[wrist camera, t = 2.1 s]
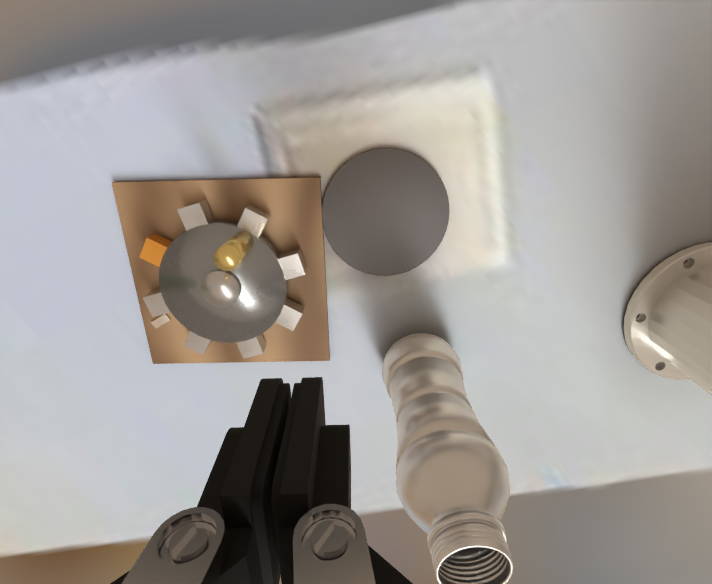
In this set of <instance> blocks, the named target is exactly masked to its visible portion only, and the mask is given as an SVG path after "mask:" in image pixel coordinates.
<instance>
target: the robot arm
mask: <svg viewBox="0 0 712 584" xmlns="http://www.w3.org/2000/svg"><path fill="white" fill-rule="evenodd" d="M624 335H625V341H626V343H627V346H628V348H629V350H630V352H631V353H632V354H633V356H634V357H635V358H636V360H638V361H639V362H640V363H641V364H642V365H643V366H645V367H646V368H647V369H649V370H650V371H652V372H653V373H655V374H658V375H660V376H663V377H666V378H671V379H678V380H693V381H694V382H696V383H697V384H698V385H699V386H701V387H702V388H703V389H705V390H706V391H707V392H709V393H710V394H711V395H712V242H708V243H703V244H697V245H695V246H692V247H689V248H686V249H684V250H681V251H679V252H678V253H676V254H674V255H672V256H670V257H668V258H667V259H665V260H664V261H663V262H661V263H660V264H659V265H657V266H656V267H655V268H654V269H653V270H652V271H651V272H650V273H649V274H648V275H647V276H646V277H645V278H644V279H643V280H642V281H641V283H640V284H639V286H638V287H637V288H636V290H635V291H634V293H633V295H632V297H631V299H630V301H629V303H628V306H627V310H626V313H625V317H624ZM280 574H281V581H282V584H412V583H411V582H410V581H409V580H408V579H407V578H405V577H404V576H403V575H402V574H401V573H400V572H398V571H397V570H396V569H395V568H394V567H393V566H392V565H390V564H389V563H388V562H387V561H386V560H385V559H383V558H382V557H381V556H380V555H379V554H378V553H377V552H375V551H374V550H373V549H372V548H371V547H370V546H368V543H367V538H366V533H365V529H364V526H363V523H362V521H361V518H360V517H359V516H358V515H357V514H356V513H355V512H354V511H353V510H351V455H350V427H349V425H325V411H324V394H323V380H322V377H315V378H302V381H301V383H295V384H294V388H293V393H292V397H291V391H290V384H289V383H284V384H283V380H282V379H281V378H275V379H261V381H260V383H259V386H258V389H257V392H256V395H255V398H254V400H253V403H252V406H251V409H250V412H249V415H248V417H247V420H246V423H245V426H244V427H241V428H230V429H229V430H228V432H227V434H226V436H225V439H224V441H223V444H222V446H221V449H220V451H219V454H218V456H217V459H216V461H215V464H214V466H213V468H212V471H211V473H210V476H209V478H208V481H207V483H206V486H205V488H204V491H203V493H202V496H201V498H200V501H199V503H198V506H197V507H194V508H190V509H186V510H183V511H181V512H179V513H177V514H175V515H173V516H171V517H170V518H169V519H167V520H166V521H165V522H164V523H162V524H161V526H160V527H159V528H158V529H157V530H156V532H155V533H154V534H153V536H152V537H151V539H150V540H149V542H148V544H147V545H146V547H145V549H144V550H143V551H142V553H141V554H140V556H139V558H138V559H137V561H136V562H135V564H134V566H133V567H132V568H131V570H130V571H129V572H127V573H125V574H124V575H123V576H121V577H120V578H118V579H117V580H115V581H114V582H112V583H111V584H279V580H280Z"/></svg>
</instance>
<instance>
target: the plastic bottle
mask: <svg viewBox="0 0 712 584" xmlns="http://www.w3.org/2000/svg"><path fill="white" fill-rule="evenodd" d="M382 376H383V381H384V384H385V386H386V389H387V392H388V394H389V396H390V398H391V400H392V404H393V407H394V411H395V414H396V419H397V433H398V449H397V465H396V486H397V493H398V496H399V498H400V500H401V502H402V504H403V506H404V508H405V510H406V512H407V513H408V515H409V516H410V517H411V518H412V519H413V520H414V521H415V522H416V523H417V525H419V526H420V528H422V529H423V530H424V531H425V532H426V533H428V538H427V539H428V548H429V552H430V555H431V557H432V561H433V567H434V574H435V576H436V579H437V582H438V583H439V584H506V583H507V582H508V581H509V579H510V578H511V576H512V573H513V561H512V557H511V554H510V551H509V549H508V546H507V536H506V533H505V530H504V527H503V526H502V524H501V522H500V519H501V517H502V515H503V513H504V510H505V507H506V504H507V501H508V498H509V493H510V484H509V473H508V469H507V466H506V464H505V462H504V460H503V458H502V456H501V455H500V453H499V451H498V449H497V448H496V447H495V445H494V444H493V442H492V441H491V439H490V438H489V436H488V435H487V433H486V432H485V430H484V429H483V427H482V426H481V424H480V423H479V421H478V419H477V417H476V415H475V413H474V411H473V410H472V407H471V405H470V403H469V402H468V399H467V395H466V392H465V388H464V384H463V373H462V368H461V363H460V359H459V357H458V355H457V353H456V352H455V351H454V350H453V349H452V347H451V346H450V345H449V344H448V343H447V342H446V341H445V340H443V339H442V338H440V337H438V336H436V335H433V334H429V333H415V334H411V335H407V336H405V337H403V338H401V339H399V340H398V341H396V342H395V343H394V344H393V345H392V346H391V347H390V348H389V350H388V351H387V353H386V356H385V358H384V363H383V370H382Z"/></svg>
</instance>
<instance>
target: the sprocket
mask: <svg viewBox="0 0 712 584" xmlns="http://www.w3.org/2000/svg"><path fill="white" fill-rule="evenodd" d="M177 211H178V213H179V215H180V218H181V220H182V222H183V224H184V227H185V229H186V232H184V233H182V234H181V235H180V236H178V237H177V238H176V239H175V240H174V241H173V242H172V241H170V240H168V239H166V238H164V237H162V236H159V235H157V234H155V233H154V234H152V235H151V236H149V237H147V238H146V241H145V243H144V246H143V249H142V251H141V254H140V257H139V258H141V259H143V260H145V261H148V262H150V263H152V264H154V265H156V266H158V267H160V268H159V285H160V289H157V290H154V291H150V292H149V293H148V294H147V295H145V296H144V297H143V300H144V302H145V304H146V305H147V307H148V309H149V311H150V313H151V315H152V317H155V316H159V315H163V314H166V313H170V312H171V313H172V315H173V316H174V317H175V318H176V319H177V320H178V321H179V322H180V323H181V324H182V325H183V326H184V327H186V328H187V329H188V330H190V332H189V334H188V337H187V339H186V341H185V343H184V345H183V346H185V347H187V348H189V349H191V350H194V351H196V352H198V353H200V354H203V355H204V353H205V352H206V350H207V349H208V347H209V345H210V343H211V341H212V340H213V341H217V342H225V343H234V342H236V343H237V345H238V348H239V350H240V352H241V354H242V356H243V359H244V358H248V357H252V356H256V355H260V354H263V353H264V351H265V348H266V346H267V345H266V343H265V340H264V338H263V336H262V333H264V332H265V331H266V330H268V329H269V328H270V327H271V326H272V325H273V324H274V322H275V323H277V324H279V325H281V326H283V327H285V328H288V329H290V330H292V331H293V330H294V329H295V327H296V325H297V323H298V321H299V319H300V318H301V316H302V314H303V311H304V306H302V305H300V304H298V303H296V302H294V301H292V300H290V299H288V298H287V295H288V288H289V279H292V278H295V277H299V276H302V275H305V274H306V271H307V267H306V264H305V261H304V258H303V255H302V253H301V250H300V249H297V250H293V251H290V252H286V253H283V254H280V252H279V251H278V249H277V248H276V247H275V245H274V244H273V243H272V242H271V241H270V240H269V239H268V238H267V237H266V236H264V235H263V232H264V230H265V228H266V225H267V223H268V221H269V219H270V217H271V215H269V214H267V213H265V212H263V211H261V210H259V209H257V208H256V207H254V206H252V205H248V206H247V207H246V208H245V210H244V212H243V214H242V216H241V219H240V221H239V222H235V221H229V220H214V219H213V216H212V214H211V211H210V209H209V207H208V204H207V202H206V200H203V201H200V202H196V203H193V204H190V205H187V206H184V207H182V208H179V209H177Z"/></svg>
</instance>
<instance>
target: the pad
mask: <svg viewBox="0 0 712 584" xmlns="http://www.w3.org/2000/svg"><path fill="white" fill-rule="evenodd" d="M448 220H449V201H448V196H447V192H446V189H445V187H444V184H443V182H442V180H441V179H440V177H439V175H438V174H437V173H436V172H435V170H434V169H433V168H432V167H431V166H430V165H429V164H428V163H427V162H425V161H424V160H422V159H421V158H420V157H418V156H416V155H414V154H412V153H409V152H406V151H403V150H399V149H392V148H382V149H374V150H370V151H367V152H364V153H362V154H359V155H357V156H356V157H354V158H352V159H351V160H349V161H348V162H347V163H345V164H344V165H343V166H342V167H341V168H340V169H339V170H338V172H337V173H336V174H335V175H334V177H333V178H332V180H331V182H330V183H329V186H328V188H327V190H326V193H325V196H324V200H323V206H322V221H323V227H324V231H325V234H326V237H327V239H328V241H329V243H330V245H331V247H332V248H333V250H334V251H335V252H336V254H337V255H338V256H339V257H340V258H341V259H342V260H343V261H345V262H346V263H347V264H348V265H350V266H352V267H353V268H355V269H357V270H360V271H362V272H365V273H368V274H373V275H384V276H386V275H395V274H400V273H403V272H406V271H409V270H411V269H413V268H415V267H417V266H418V265H420V264H422V263H423V262H424V261H425V260H427V259H428V258H429V257H430V256H431V255H432V254H433V253H434V252H435V250H436V249H437V247H438V246H439V244H440V243H441V241H442V239H443V237H444V234H445V232H446V229H447V225H448Z"/></svg>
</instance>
